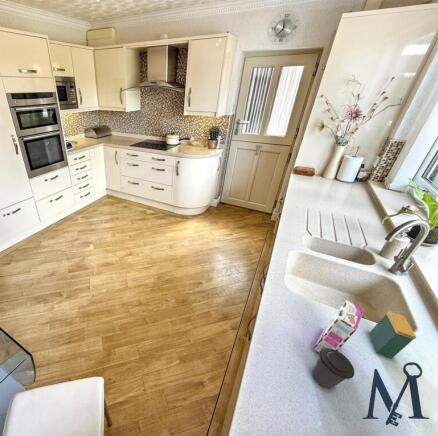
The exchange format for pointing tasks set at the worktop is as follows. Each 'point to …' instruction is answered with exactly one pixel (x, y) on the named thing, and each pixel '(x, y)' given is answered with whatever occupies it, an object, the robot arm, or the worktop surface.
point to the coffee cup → (332, 368)
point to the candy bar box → (340, 327)
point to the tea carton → (391, 335)
